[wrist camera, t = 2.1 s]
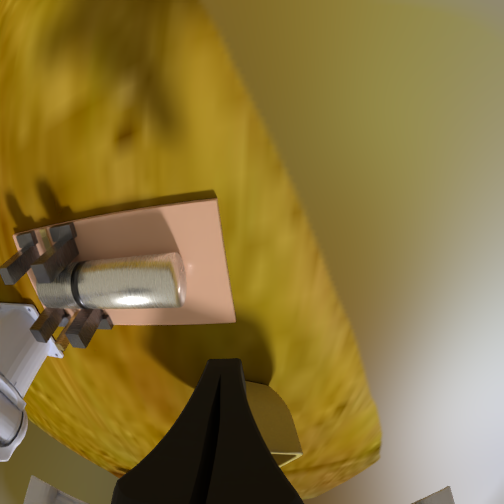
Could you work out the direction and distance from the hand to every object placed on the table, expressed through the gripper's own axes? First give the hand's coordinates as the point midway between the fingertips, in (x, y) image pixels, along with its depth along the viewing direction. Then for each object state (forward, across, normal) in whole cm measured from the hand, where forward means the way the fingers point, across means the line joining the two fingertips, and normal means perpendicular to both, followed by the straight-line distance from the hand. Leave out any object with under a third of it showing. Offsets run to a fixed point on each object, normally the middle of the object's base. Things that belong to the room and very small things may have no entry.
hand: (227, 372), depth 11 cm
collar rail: (+9, +16, 0) cm, 18 cm away
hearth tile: (+9, +11, 0) cm, 14 cm away
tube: (+9, +10, 0) cm, 13 cm away
